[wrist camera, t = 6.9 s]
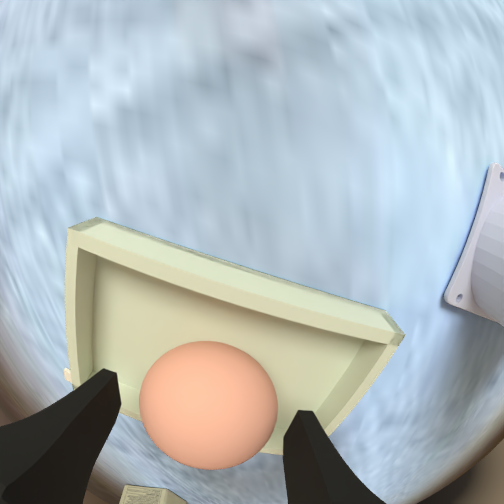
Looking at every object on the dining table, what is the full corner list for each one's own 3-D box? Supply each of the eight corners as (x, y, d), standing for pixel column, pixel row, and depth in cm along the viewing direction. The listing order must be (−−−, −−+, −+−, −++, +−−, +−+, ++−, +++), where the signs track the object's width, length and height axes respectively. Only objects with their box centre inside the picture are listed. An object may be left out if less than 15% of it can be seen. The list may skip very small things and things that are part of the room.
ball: (294, 356, 12) (321, 452, 7) (224, 412, 13) (222, 496, 8) (197, 291, 11) (170, 389, 6) (137, 364, 12) (103, 450, 7)
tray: (385, 310, 12) (405, 335, 10) (304, 430, 14) (308, 457, 12) (96, 216, 11) (68, 227, 8) (89, 367, 13) (73, 390, 11)
